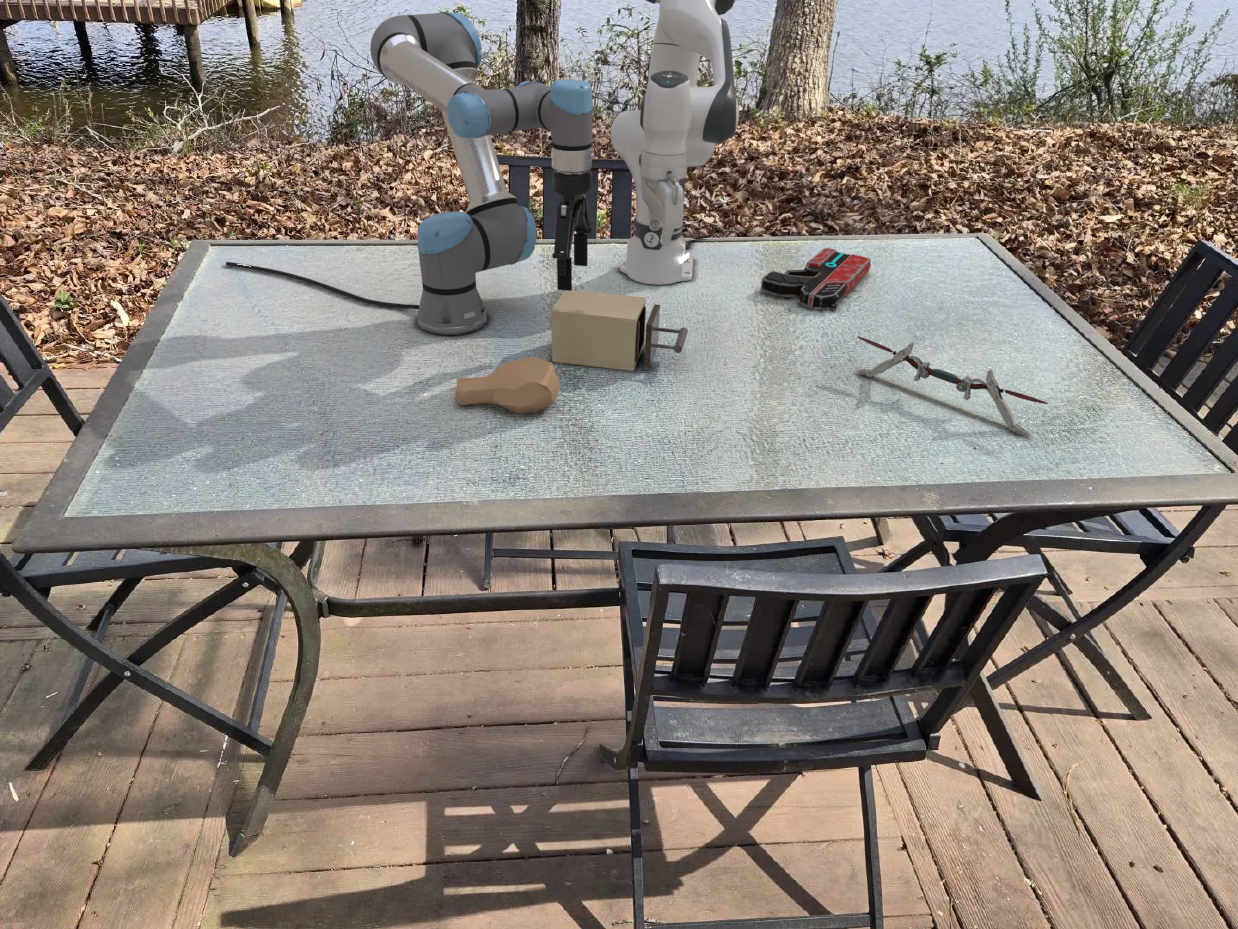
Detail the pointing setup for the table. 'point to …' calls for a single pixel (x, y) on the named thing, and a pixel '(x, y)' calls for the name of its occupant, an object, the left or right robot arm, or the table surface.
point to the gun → (819, 279)
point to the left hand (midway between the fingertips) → (572, 277)
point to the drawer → (654, 335)
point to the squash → (513, 386)
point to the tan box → (596, 329)
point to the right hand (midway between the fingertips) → (659, 237)
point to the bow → (962, 385)
